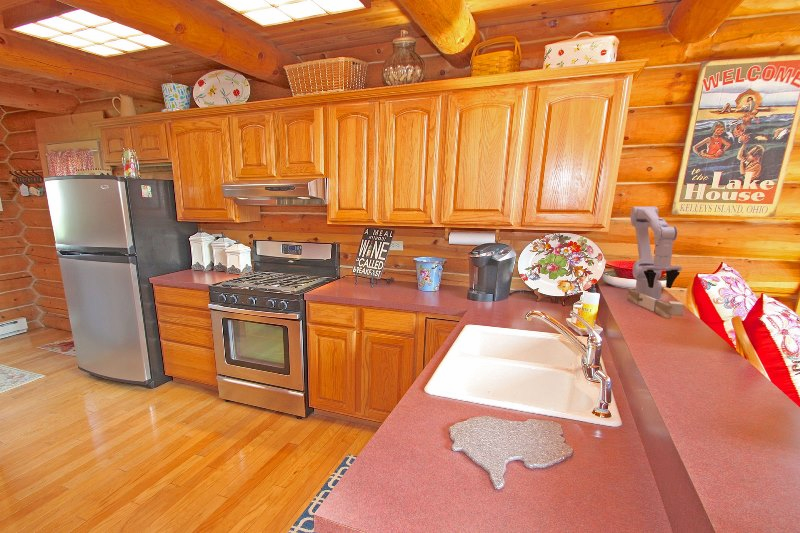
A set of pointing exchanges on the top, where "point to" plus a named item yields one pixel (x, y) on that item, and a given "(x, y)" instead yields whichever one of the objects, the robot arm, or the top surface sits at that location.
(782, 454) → the top surface
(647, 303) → the door
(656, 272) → the robot arm
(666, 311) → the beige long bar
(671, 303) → the doorstop block
